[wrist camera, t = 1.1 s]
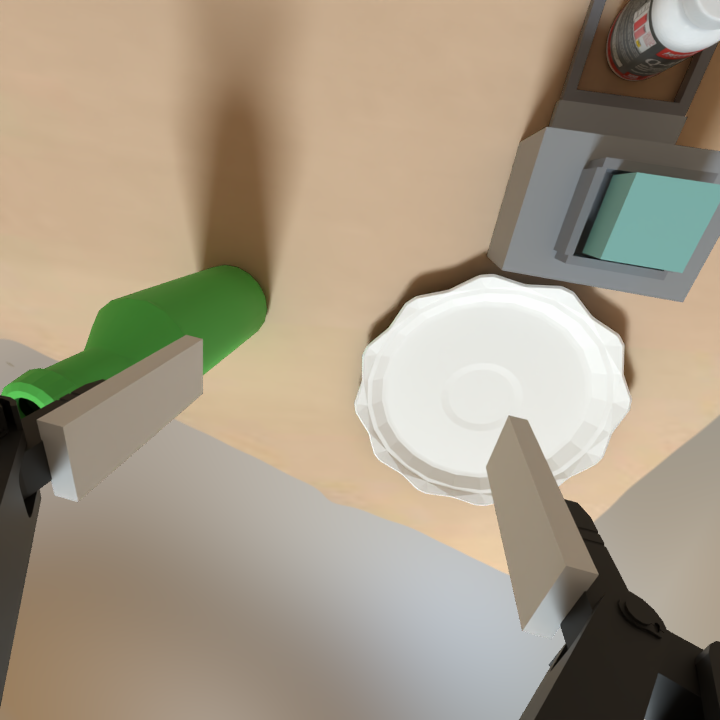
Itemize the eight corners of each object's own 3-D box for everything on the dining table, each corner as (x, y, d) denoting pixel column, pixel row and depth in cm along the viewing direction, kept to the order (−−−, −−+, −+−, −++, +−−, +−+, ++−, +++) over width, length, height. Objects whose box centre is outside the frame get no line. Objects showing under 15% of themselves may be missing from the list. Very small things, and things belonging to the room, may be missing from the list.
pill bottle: (613, 98, 30) (692, 57, 21) (594, 22, 28) (672, -57, 20) (694, 53, 28) (818, -13, 19) (679, -31, 27) (807, -145, 18)
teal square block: (613, 174, 24) (637, 172, 21) (693, 187, 23) (728, 185, 21) (582, 252, 26) (600, 259, 23) (655, 264, 25) (682, 272, 23)
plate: (672, 302, 36) (687, 308, 34) (559, 512, 48) (565, 527, 46) (381, 250, 38) (378, 253, 36) (345, 463, 51) (342, 474, 49)
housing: (577, -57, 27) (659, -193, 17) (780, -37, 26) (986, -172, 16) (486, 255, 37) (507, 276, 27) (630, 280, 35) (705, 311, 26)
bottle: (256, 257, 41) (48, 332, 18) (279, 329, 44) (125, 469, 21) (189, 271, 43) (-74, 354, 20) (215, 339, 46) (13, 477, 23)
